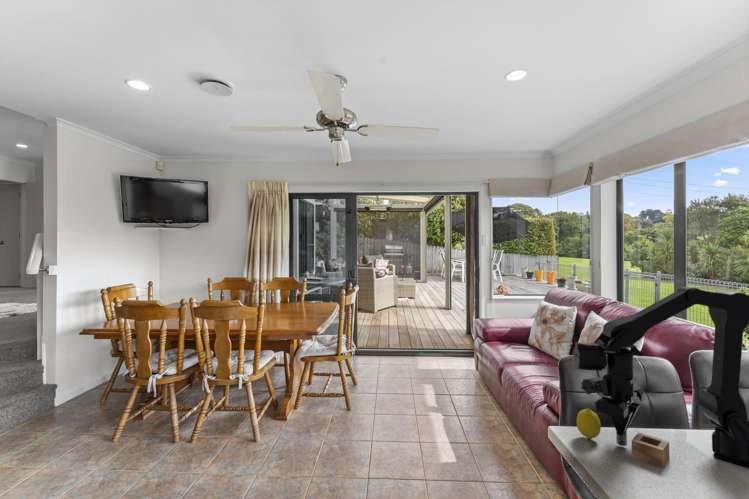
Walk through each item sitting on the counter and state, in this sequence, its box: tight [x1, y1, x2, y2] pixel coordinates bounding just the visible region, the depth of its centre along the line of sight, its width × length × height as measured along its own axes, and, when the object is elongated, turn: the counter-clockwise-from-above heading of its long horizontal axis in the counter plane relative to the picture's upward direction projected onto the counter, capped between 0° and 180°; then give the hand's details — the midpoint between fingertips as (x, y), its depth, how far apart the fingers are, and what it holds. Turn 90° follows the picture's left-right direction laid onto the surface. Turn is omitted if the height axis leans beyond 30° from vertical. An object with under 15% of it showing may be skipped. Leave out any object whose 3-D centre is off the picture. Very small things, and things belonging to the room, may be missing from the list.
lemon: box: [576, 408, 602, 440], centre depth 95 cm, size 6×6×8 cm
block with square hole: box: [631, 432, 670, 469], centre depth 86 cm, size 6×6×4 cm
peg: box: [615, 427, 628, 447], centre depth 91 cm, size 2×2×8 cm
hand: (621, 433), depth 91 cm, fingers closed on peg, 2 cm apart
